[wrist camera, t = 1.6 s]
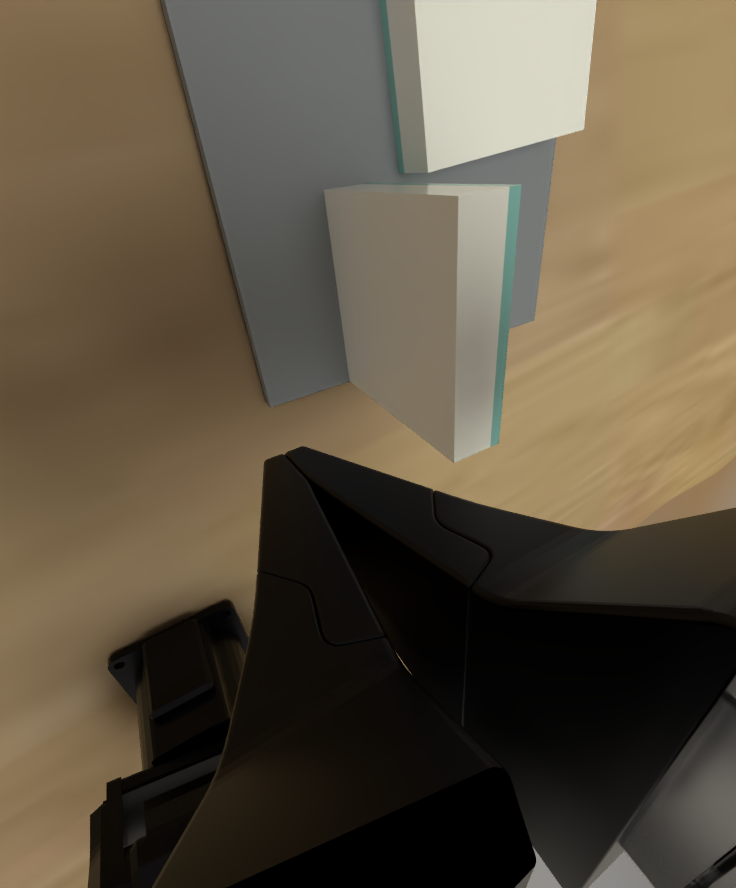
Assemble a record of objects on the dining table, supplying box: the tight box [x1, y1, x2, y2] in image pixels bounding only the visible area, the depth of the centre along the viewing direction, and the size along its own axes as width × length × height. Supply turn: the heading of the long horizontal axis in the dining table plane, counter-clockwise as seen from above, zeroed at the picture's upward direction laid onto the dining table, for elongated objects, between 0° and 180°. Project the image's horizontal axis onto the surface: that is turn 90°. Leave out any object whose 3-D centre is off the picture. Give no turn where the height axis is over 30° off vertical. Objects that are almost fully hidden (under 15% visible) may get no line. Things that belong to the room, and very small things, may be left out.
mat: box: [160, 0, 556, 408], centre depth 18 cm, size 16×16×1 cm
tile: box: [324, 183, 521, 463], centre depth 16 cm, size 8×2×8 cm, turn 6°
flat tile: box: [379, 0, 597, 173], centre depth 15 cm, size 8×8×2 cm
